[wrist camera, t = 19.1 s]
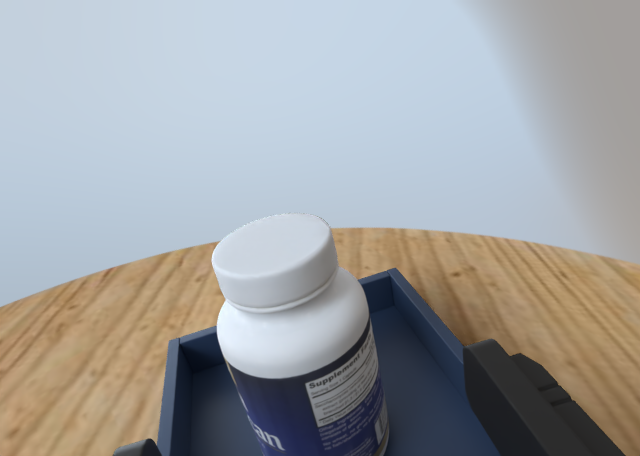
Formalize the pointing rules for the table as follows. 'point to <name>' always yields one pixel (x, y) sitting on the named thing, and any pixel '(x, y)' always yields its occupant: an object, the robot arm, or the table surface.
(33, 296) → the table surface
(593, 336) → the table surface
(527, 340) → the table surface
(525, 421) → the robot arm
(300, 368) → the pill bottle
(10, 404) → the table surface
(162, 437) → the blue tray
